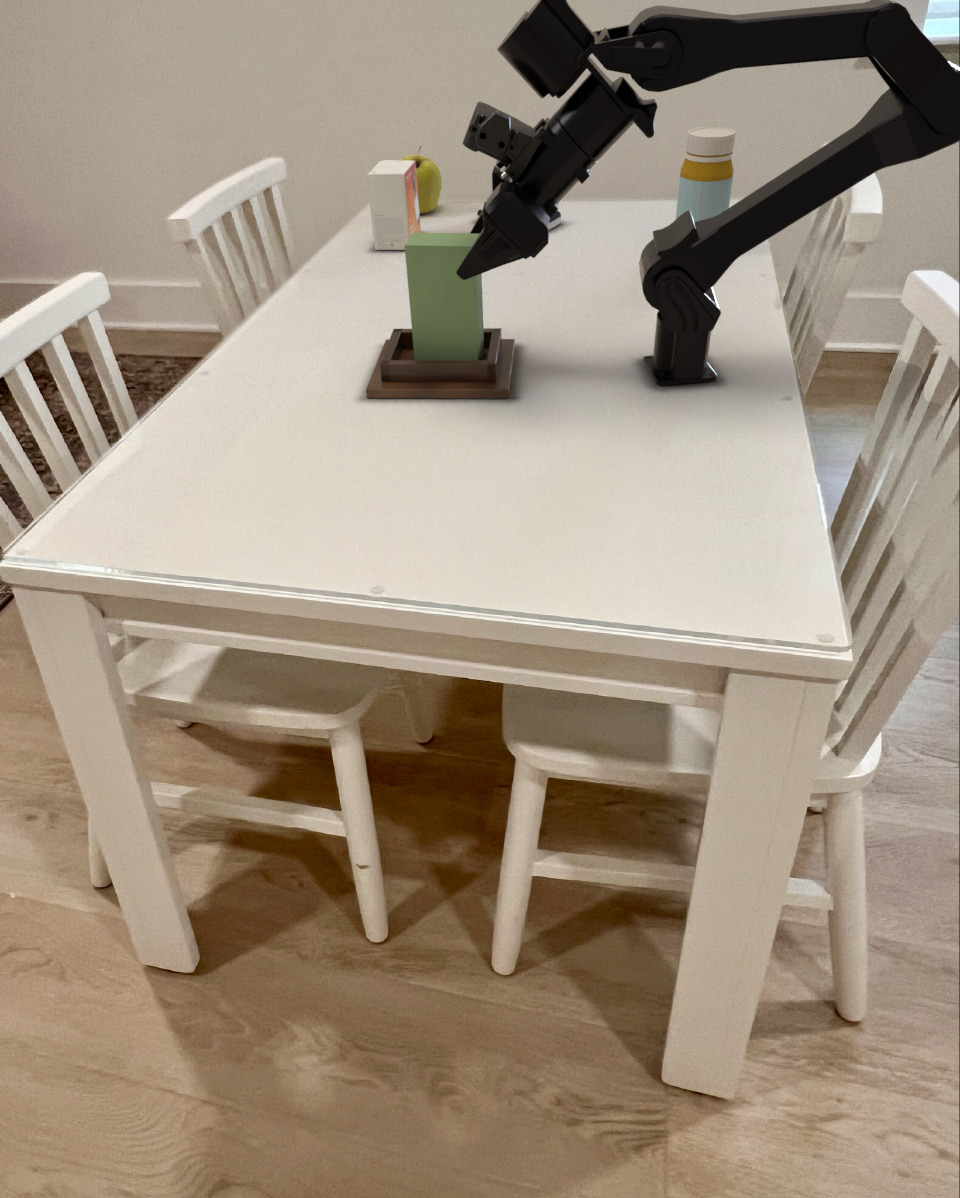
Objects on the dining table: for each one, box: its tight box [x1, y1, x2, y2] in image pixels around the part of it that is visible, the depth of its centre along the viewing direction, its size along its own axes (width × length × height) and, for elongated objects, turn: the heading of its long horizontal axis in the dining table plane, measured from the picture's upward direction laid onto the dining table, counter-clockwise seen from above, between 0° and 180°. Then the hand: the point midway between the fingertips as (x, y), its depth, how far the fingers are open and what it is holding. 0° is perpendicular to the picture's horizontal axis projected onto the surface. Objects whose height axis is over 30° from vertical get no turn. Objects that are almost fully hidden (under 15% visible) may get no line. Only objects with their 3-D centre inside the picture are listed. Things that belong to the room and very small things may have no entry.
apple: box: [399, 145, 443, 214], centre depth 142 cm, size 8×8×10 cm
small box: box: [365, 159, 422, 251], centre depth 130 cm, size 8×6×10 cm
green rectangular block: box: [404, 232, 485, 360], centre depth 94 cm, size 4×7×13 cm, turn 80°
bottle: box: [675, 126, 736, 222], centre depth 121 cm, size 7×7×15 cm
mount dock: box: [365, 327, 516, 399], centre depth 97 cm, size 15×13×3 cm
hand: (464, 260), depth 90 cm, fingers open, 9 cm apart
